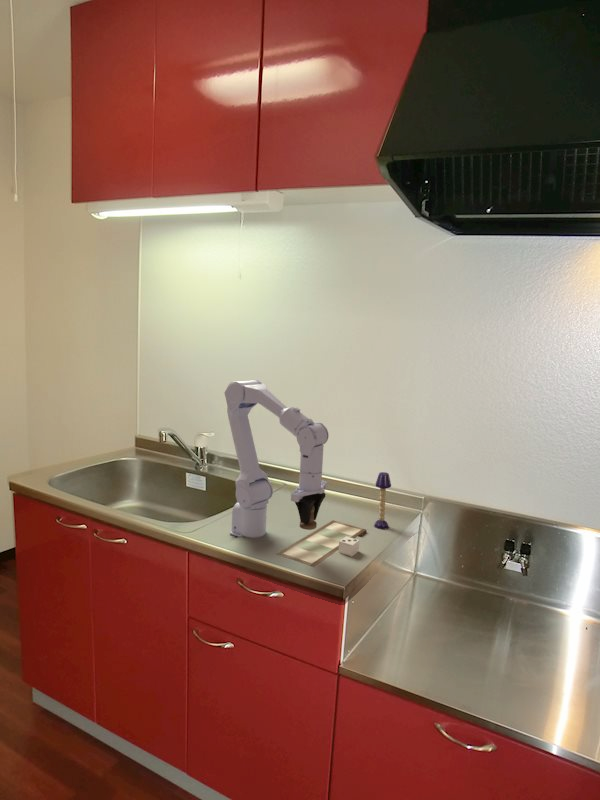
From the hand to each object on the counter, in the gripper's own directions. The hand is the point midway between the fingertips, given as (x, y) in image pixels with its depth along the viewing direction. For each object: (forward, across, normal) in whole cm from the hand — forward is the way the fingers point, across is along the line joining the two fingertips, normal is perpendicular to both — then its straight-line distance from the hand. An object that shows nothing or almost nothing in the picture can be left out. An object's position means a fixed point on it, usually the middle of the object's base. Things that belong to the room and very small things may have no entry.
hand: (308, 521), depth 135 cm
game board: (+9, +9, 0) cm, 13 cm away
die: (+10, +8, -8) cm, 15 cm away
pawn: (+1, 0, 0) cm, 1 cm away
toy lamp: (+10, +32, -7) cm, 34 cm away
